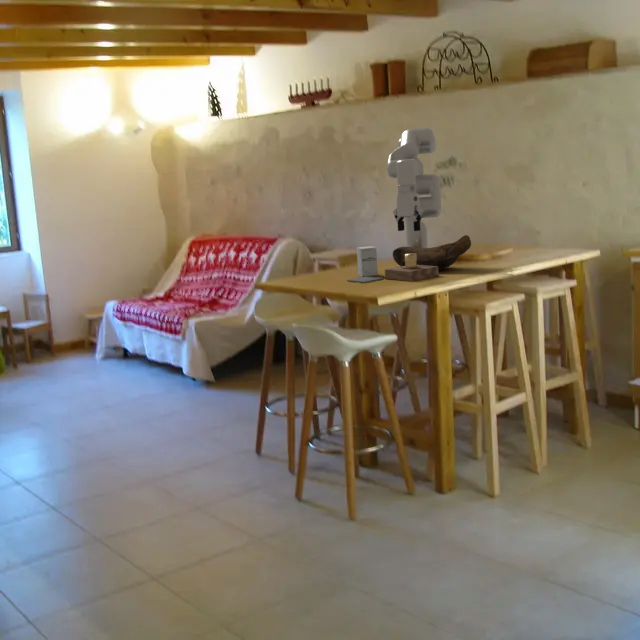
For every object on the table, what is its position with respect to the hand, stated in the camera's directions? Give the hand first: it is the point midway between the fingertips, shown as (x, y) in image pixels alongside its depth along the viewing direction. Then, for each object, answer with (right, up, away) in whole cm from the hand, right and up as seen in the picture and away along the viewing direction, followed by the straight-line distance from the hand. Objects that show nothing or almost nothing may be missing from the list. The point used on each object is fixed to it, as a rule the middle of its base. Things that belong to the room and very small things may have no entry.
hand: (409, 230), depth 346 cm
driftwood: (+13, -15, +22) cm, 30 cm away
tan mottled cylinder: (+2, -19, +4) cm, 20 cm away
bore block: (+2, -19, +4) cm, 20 cm away
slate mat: (-18, -21, +6) cm, 28 cm away
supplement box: (-16, -18, +21) cm, 32 cm away
